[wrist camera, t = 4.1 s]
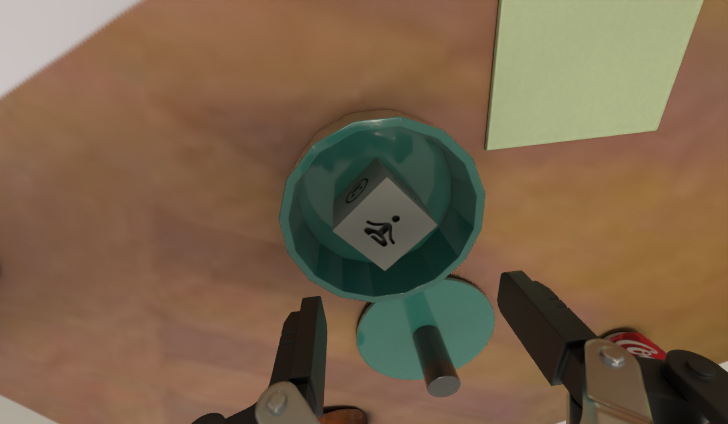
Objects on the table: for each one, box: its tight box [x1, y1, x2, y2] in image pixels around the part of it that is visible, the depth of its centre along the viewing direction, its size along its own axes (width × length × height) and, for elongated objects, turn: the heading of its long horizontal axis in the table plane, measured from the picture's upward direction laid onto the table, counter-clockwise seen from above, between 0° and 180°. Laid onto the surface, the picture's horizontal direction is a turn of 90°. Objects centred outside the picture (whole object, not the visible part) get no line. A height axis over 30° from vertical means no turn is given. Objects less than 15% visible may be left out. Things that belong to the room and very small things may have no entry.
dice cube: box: [332, 157, 438, 271], centre depth 21 cm, size 5×5×5 cm
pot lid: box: [357, 277, 495, 397], centre depth 27 cm, size 15×15×7 cm
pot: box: [279, 109, 485, 303], centre depth 21 cm, size 14×14×5 cm
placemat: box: [485, 0, 703, 150], centre depth 19 cm, size 14×14×1 cm
